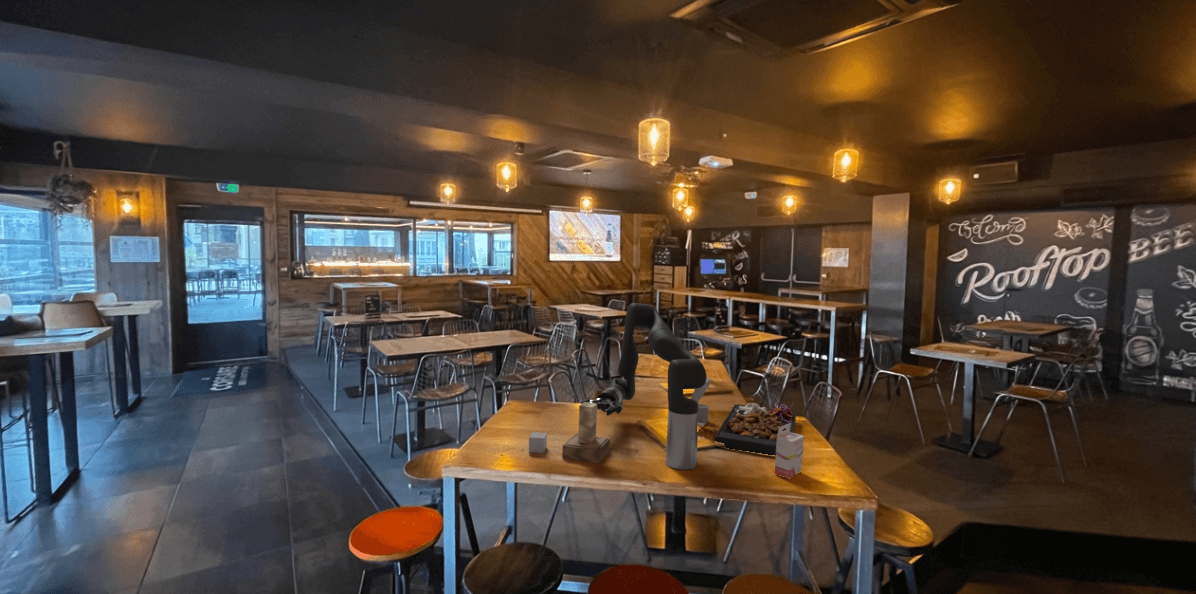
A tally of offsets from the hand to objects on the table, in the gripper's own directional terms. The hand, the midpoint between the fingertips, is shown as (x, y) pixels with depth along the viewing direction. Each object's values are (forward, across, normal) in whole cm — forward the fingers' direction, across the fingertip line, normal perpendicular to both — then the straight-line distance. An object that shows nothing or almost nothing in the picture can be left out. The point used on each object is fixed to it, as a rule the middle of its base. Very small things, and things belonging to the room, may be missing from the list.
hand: (595, 411), depth 175 cm
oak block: (+8, 0, +8) cm, 11 cm away
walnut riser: (+8, 0, +12) cm, 15 cm away
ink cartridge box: (-2, +62, +12) cm, 63 cm away
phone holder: (-38, +27, +12) cm, 48 cm away
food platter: (-37, +53, +13) cm, 66 cm away
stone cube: (+11, -16, +12) cm, 23 cm away
